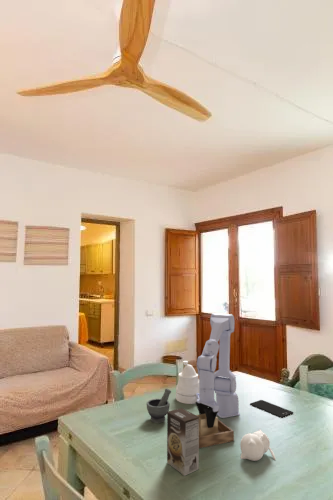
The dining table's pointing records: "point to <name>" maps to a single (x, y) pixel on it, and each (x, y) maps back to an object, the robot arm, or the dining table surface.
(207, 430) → the small crate
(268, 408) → the cell phone
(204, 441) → the large crate
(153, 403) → the mortar and pestle
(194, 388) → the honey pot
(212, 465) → the dining table surface
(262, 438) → the cat figurine
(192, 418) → the coffee box
